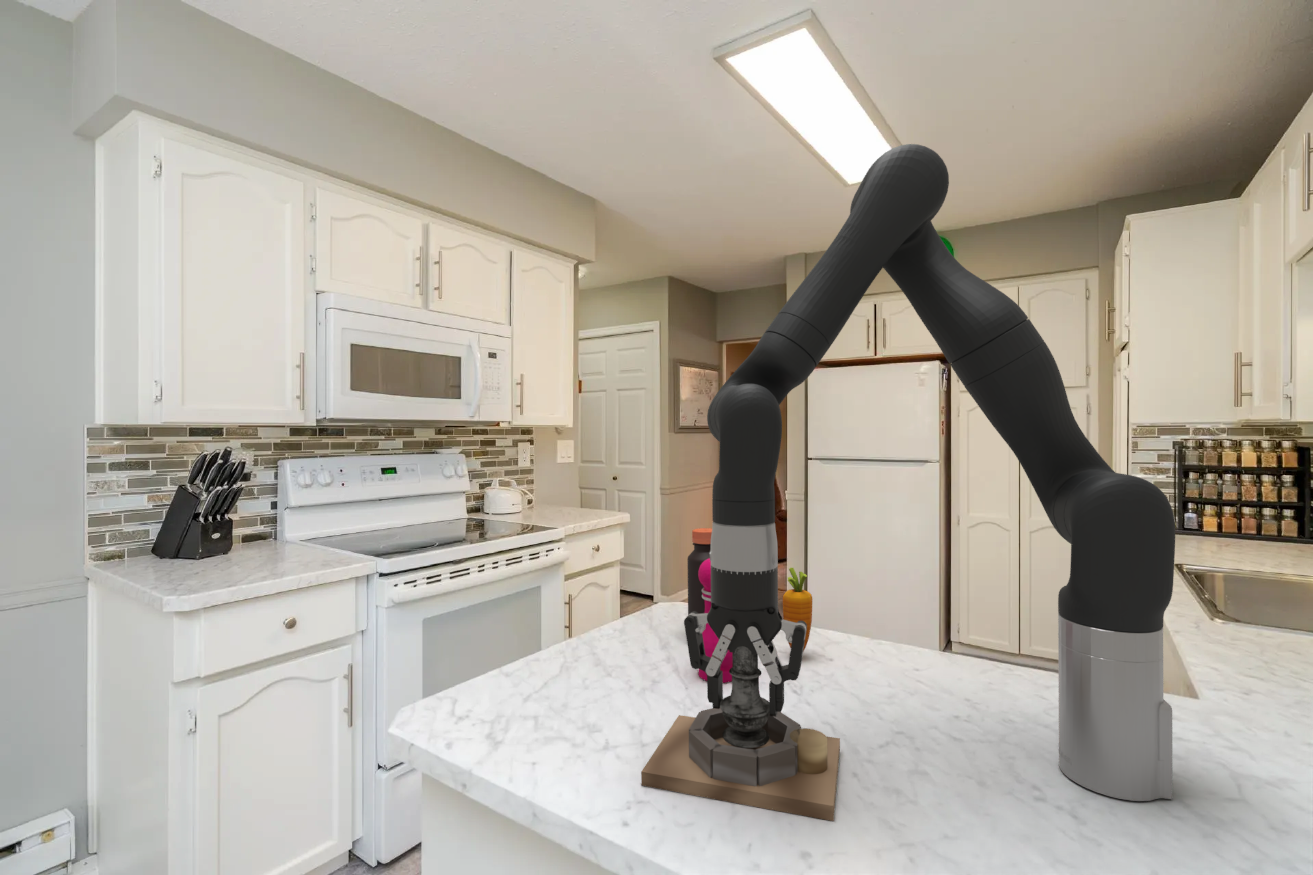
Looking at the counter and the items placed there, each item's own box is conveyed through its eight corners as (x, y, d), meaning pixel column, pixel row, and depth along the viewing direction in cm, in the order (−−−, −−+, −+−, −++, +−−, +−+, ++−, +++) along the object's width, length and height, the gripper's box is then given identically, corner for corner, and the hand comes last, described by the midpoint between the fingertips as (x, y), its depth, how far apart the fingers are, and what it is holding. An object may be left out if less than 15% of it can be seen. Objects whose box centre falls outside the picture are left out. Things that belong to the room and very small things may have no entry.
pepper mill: (749, 672, 98) (748, 545, 98) (729, 688, 92) (728, 553, 92) (708, 663, 102) (707, 541, 102) (687, 678, 96) (685, 549, 96)
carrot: (816, 663, 101) (815, 572, 101) (786, 663, 101) (785, 572, 101) (809, 652, 106) (808, 565, 106) (780, 652, 106) (779, 565, 106)
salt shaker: (771, 751, 67) (770, 641, 67) (717, 746, 68) (716, 638, 68) (772, 726, 73) (771, 624, 73) (722, 722, 74) (721, 621, 74)
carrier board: (840, 750, 74) (839, 713, 74) (833, 821, 61) (833, 775, 61) (679, 726, 80) (678, 691, 80) (641, 785, 67) (641, 743, 67)
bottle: (686, 644, 111) (684, 532, 111) (690, 632, 118) (689, 527, 118) (724, 645, 110) (723, 533, 110) (726, 633, 117) (725, 527, 117)
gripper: (812, 558, 72) (813, 704, 72) (691, 552, 76) (693, 688, 76) (805, 573, 64) (806, 734, 65) (673, 564, 69) (674, 715, 69)
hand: (745, 708), depth 71 cm, fingers closed on salt shaker, 6 cm apart
